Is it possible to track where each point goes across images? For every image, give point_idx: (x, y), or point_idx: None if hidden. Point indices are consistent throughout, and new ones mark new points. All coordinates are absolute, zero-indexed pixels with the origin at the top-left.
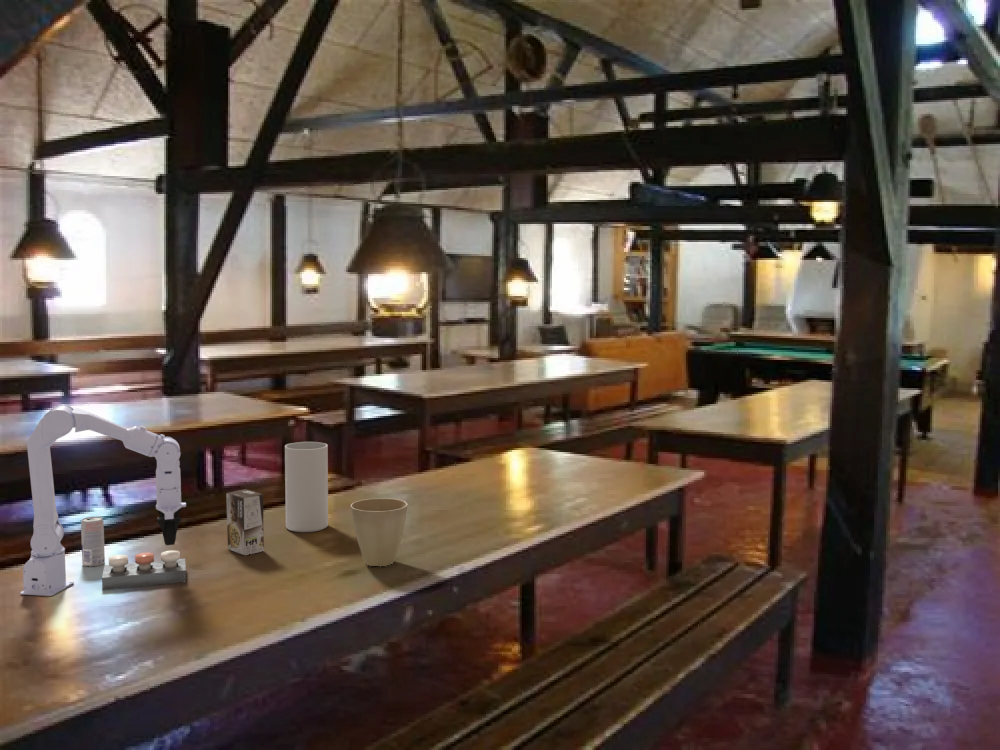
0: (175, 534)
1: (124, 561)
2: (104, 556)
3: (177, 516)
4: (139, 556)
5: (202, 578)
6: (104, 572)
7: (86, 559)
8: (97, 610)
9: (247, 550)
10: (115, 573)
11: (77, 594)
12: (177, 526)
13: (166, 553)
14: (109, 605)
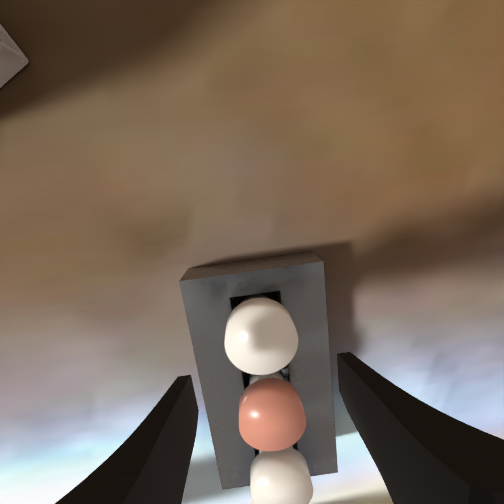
0: (395, 387)
1: (301, 464)
2: None
3: (136, 483)
4: (284, 437)
5: (284, 205)
6: None
7: None
8: (466, 418)
9: (3, 38)
10: (306, 450)
11: (343, 477)
12: (467, 427)
13: (263, 355)
14: (442, 402)
